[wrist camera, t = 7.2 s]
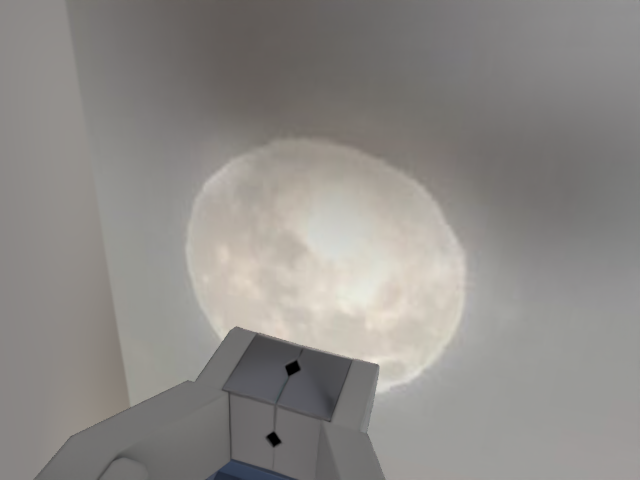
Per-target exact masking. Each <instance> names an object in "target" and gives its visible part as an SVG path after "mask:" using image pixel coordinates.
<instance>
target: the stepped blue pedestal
mask: <svg viewBox="0 0 640 480" xmlns="http://www.w3.org/2000/svg"><path fill="white" fill-rule="evenodd" d="M205 480H297V479H295V478H292V477H289V476H286V475H283V474H281V473H278V472H275V471H272V470H269V469H265V468H262V467H259V466H255V465H252V464H248V463H245V462H242V461H238V460H235V459H231V458H230V462H228V463H227V464H226V465H224V466H223V467H222V468H220V469H219V470H218V471H216V472H215V473H214V474H212V475H211V476H209V477H208V478H207V479H205Z"/></svg>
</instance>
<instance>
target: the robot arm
mask: <svg viewBox="0 0 640 480" xmlns="http://www.w3.org/2000/svg"><path fill="white" fill-rule="evenodd" d="M379 368H380V366H379V365H378V364H374V363H370V362H366V361H362V360H358V359H355V358H350V357H346V356H342V355H339V354H335V353H331V352H327V351H323V350H319V349H315V348H311V347H308V346H303V345H299V344H296V343H293V342H289V341H286V340H282V339H279V338H276V337H272V336H269V335H265V334H262V333H257V332H253V331H250V330H247V329H243V328H240V327H237V326H236V327H234V328H233V329H232V330H230V331H229V333H228V334H227V336H226V337H225V338H224V340H223V341H222V343H221V344H220V346H219V347H218V349H217V350H216V352H215V353H214V354H213V356H212V357H211V359H210V360H209V362H208V363H207V365H206V366H205V368H204V369H203V370H202V372H201V373H200V375H199V376H198V378H197V379H196V381H195V382H192V381H188V380H187V381H185V382H183V383H181V384H179V385H177V386H175V387H172V388H170V389H168V390H166V391H164V392H162V393H160V394H158V395H156V396H154V397H152V398H150V399H147V400H145V401H143V402H141V403H139V404H137V405H135V406H133V407H131V408H129V409H127V410H125V411H123V412H120V413H118V414H116V415H114V416H112V417H110V418H108V419H106V420H104V421H102V422H99V423H97V424H95V425H93V426H91V427H89V428H87V429H85V430H83V431H81V432H79V433H77V434H75V435H72V436H71V437H70V438H69V439H68V440H67V441H66V442H65V444H64V445H63V446H62V447H61V448H60V449H59V451H58V452H57V453H56V454H55V455H54V457H53V458H52V459H51V460H50V461H49V462H48V464H47V465H46V466H45V467H44V468H43V469H42V470H41V472H40V473H39V474H38V475H37V476H36V477H35V478H34V480H205V479H207V478H208V477H209V476H211V475H212V474H214V473H215V472H216V471H218V470H219V469H220V468H222V467H223V466H224V465H226V464H227V463H228V462H230V458H231V459H235V460H238V461H242V462H245V463H248V464H252V465H255V466H259V467H262V468H265V469H269V470H272V471H275V472H278V473H281V474H283V475H286V476H289V477H292V478H295V479H297V480H385V477H384V474H383V472H382V469H381V467H380V464H379V461H378V459H377V456H376V454H375V451H374V449H373V446H372V443H371V441H370V438H369V436H368V434H367V431H368V426H369V421H370V417H371V412H372V408H373V402H374V397H375V391H376V386H377V380H378V375H379Z"/></svg>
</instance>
